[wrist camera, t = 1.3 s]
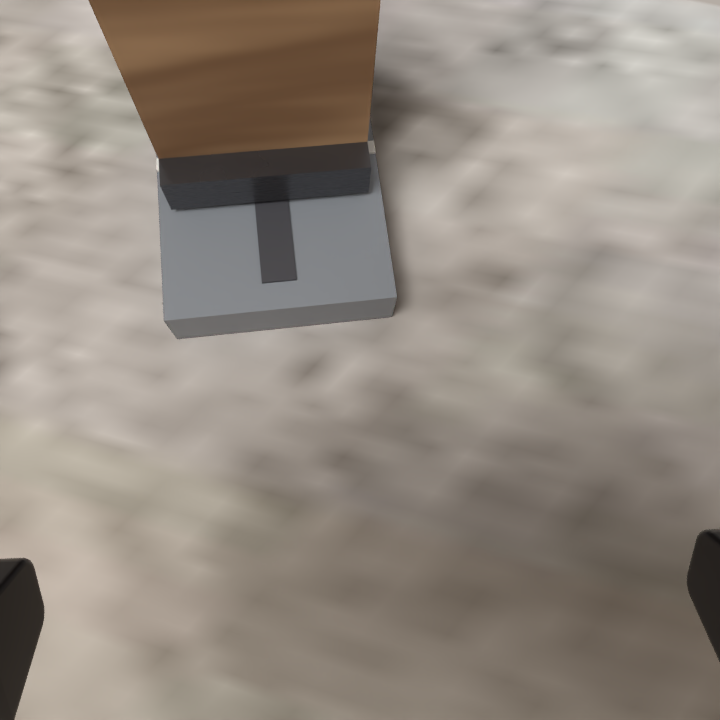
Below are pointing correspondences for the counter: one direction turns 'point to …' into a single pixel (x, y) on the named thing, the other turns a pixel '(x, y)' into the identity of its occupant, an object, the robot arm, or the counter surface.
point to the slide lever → (249, 94)
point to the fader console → (276, 262)
